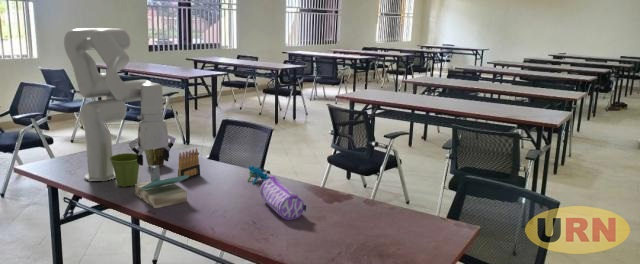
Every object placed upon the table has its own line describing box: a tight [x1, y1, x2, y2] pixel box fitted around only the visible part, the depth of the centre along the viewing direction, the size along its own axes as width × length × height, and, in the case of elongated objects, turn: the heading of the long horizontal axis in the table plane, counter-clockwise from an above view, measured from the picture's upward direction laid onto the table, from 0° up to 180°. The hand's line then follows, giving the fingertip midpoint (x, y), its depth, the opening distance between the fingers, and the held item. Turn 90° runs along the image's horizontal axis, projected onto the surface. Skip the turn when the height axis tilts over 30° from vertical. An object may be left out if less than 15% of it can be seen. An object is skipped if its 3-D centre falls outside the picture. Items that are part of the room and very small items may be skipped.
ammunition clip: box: [177, 148, 201, 183], centre depth 216 cm, size 11×2×12 cm, turn 147°
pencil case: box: [259, 175, 307, 221], centre depth 184 cm, size 22×9×10 cm, turn 28°
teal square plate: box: [141, 175, 189, 190], centre depth 189 cm, size 12×13×1 cm
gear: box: [247, 165, 270, 185], centre depth 213 cm, size 11×6×10 cm
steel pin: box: [149, 165, 161, 182], centre depth 195 cm, size 3×3×10 cm
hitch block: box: [134, 178, 188, 209], centre depth 193 cm, size 18×12×4 cm, turn 40°
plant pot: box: [110, 152, 140, 188], centre depth 206 cm, size 12×12×11 cm
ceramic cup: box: [143, 148, 165, 168], centre depth 231 cm, size 13×10×10 cm
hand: (153, 162), depth 194 cm, fingers open, 9 cm apart
